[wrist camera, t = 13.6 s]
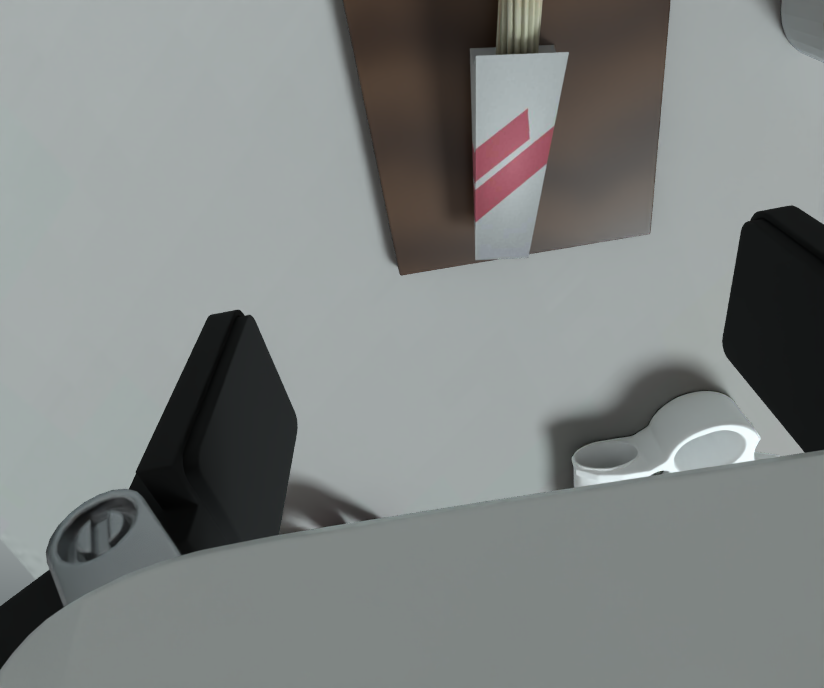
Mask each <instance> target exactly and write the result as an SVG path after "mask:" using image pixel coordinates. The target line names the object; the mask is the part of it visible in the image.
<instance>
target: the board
mask: <svg viewBox="0 0 824 688" xmlns="http://www.w3.org/2000/svg"><path fill="white" fill-rule="evenodd" d="M498 1H499V0H343V4H344V9H345V14H346V19H347V24H348V28H349V33H350V38H351V43H352V48H353V52H354V57H355V62H356V67H357V72H358V76H359V81H360V86H361V91H362V96H363V100H364V105H365V110H366V115H367V120H368V124H369V129H370V134H371V139H372V144H373V148H374V153H375V158H376V163H377V168H378V172H379V177H380V182H381V187H382V192H383V196H384V201H385V206H386V211H387V216H388V220H389V225H390V230H391V235H392V240H393V244H394V249H395V254H396V259H397V264H398V269H399V273H400V275H407V274H413V273H419V272H425V271H431V270H437V269H443V268H449V267H455V266H461V265H467V264H473V263H479V262H485V261H491V260H497V259H488V260H475V225H474V187H473V149H472V110H471V72H470V48H491V47H496V38H497V20H498ZM669 12H670V0H543V1H542V14H541V26H540V38H539V45H555V49H556V53H558V52H569V55H568V60H567V65H566V70H565V75H564V80H563V85H562V90H561V95H560V100H559V105H558V110H557V115H556V120H555V125H554V130H553V135H552V140H551V145H550V150H549V155H548V160H547V166H546V171H545V176H544V181H543V186H542V191H541V196H540V201H539V206H538V211H537V216H536V221H535V226H534V231H533V236H532V241H531V246H530V251H529V254H533V253H539V252H545V251H551V250H556V249H562V248H568V247H574V246H580V245H586V244H592V243H598V242H604V241H610V240H616V239H622V238H628V237H634V236H640V235H646V234H650V230H651V219H652V207H653V196H654V184H655V173H656V161H657V150H658V138H659V127H660V115H661V104H662V92H663V81H664V69H665V58H666V46H667V35H668V23H669Z"/></svg>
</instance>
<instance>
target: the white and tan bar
mask: <svg viewBox="0 0 824 688" xmlns="http://www.w3.org/2000/svg"><path fill="white" fill-rule="evenodd" d="M542 1H543V0H499V1H498V20H497V38H496V47H491V48H470V72H471V110H472V149H473V187H474V225H475V260H488V259H510V258H528V256H529V251H530V246H531V241H532V236H533V231H534V226H535V221H536V216H537V211H538V206H539V201H540V196H541V191H542V186H543V181H544V176H545V171H546V166H547V160H548V155H549V150H550V145H551V140H552V135H553V130H554V125H555V120H556V115H557V110H558V105H559V100H560V95H561V90H562V85H563V80H564V75H565V70H566V65H567V60H568V55H569V52H558V53H556V49H555V45H539V38H540V26H541V14H542Z"/></svg>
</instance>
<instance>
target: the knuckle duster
mask: <svg viewBox="0 0 824 688" xmlns="http://www.w3.org/2000/svg"><path fill="white" fill-rule="evenodd" d="M759 440H760V436H759V434H758V432H757V431H756V429H755V428H754V427H753V425H752V424H751V423H750V421H749V420H748V419H747V417H746V416H745V415H744V413H743V412H742V411H741V409H740V408H739V407H738V405H737V404H736V403H735V402H734V401H733V400H732V399H731V398H730V397H728V396H726V395H724V394H722V393H718V392H713V391H698V392H693V393H689V394H685V395H682V396H680V397H678V398H675V399H673V400H672V401H670V402H668V403H667V404H665V405H664V406H663V407H662V408H661V409H659V410H658V411H657V413H656V414H655V415H654V416H653V418H652V419H651V421H650V424H649V425H648V426H647V427H646V428H644V429H643V430H641V431H640V432H638V433H636V434H635V435H633V436H629V437H623V438H616V439H610V440H605V441H599V442H594V443H591V444H588V445H585V446H583V447H582V448H580V449H578V450H577V451H576V452H575V453H574V455H573V456H572V464H573V467H574V488H575V487H581V486H588V485H594V484H601V483H608V482H614V481H621V480H627V479H634V478H640V477H647V476H650V475H652V474H654V473H656V472H658V471H664V472H663V473H662V474H666V473H673V472H679V471H686V470H693V469H699V468H706V467H713V466H720V465H726V464H733V463H740V462H746V461H753V460H760V459H767V458H773V457H778V456H779V455H777V454H769V453H762V452H754V451H755V448H756V446H757V444H758V442H759Z"/></svg>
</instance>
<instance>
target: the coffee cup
mask: <svg viewBox="0 0 824 688" xmlns="http://www.w3.org/2000/svg"><path fill="white" fill-rule="evenodd" d="M781 17H782V26H783V29H784V32H785V34H786V37H787V39H788V40H789V41H790V43H791V44H792V46H793V47H795V48H796V49H797V50H798V51H800V52H801V53H803V54H805V55H807V56H809V57H812V58H814V59H816V60H819V61H821V62H824V0H782V5H781Z"/></svg>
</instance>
